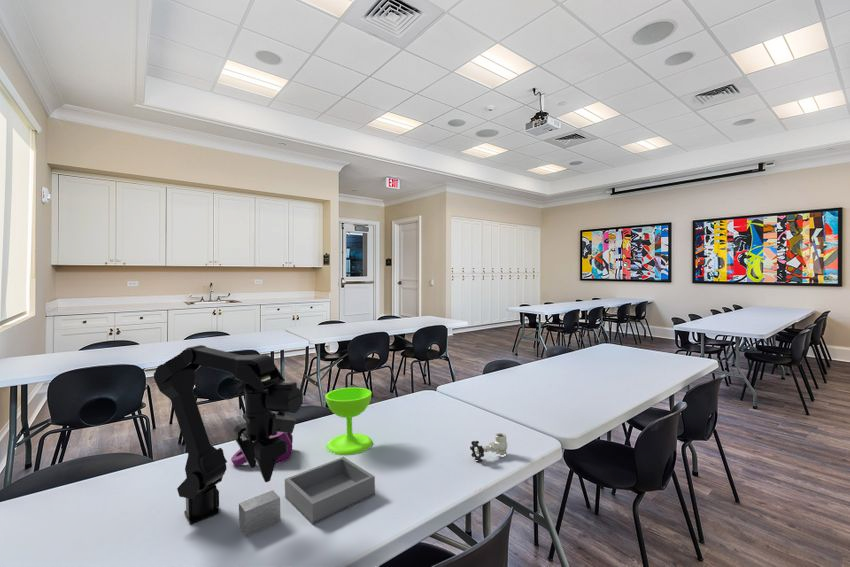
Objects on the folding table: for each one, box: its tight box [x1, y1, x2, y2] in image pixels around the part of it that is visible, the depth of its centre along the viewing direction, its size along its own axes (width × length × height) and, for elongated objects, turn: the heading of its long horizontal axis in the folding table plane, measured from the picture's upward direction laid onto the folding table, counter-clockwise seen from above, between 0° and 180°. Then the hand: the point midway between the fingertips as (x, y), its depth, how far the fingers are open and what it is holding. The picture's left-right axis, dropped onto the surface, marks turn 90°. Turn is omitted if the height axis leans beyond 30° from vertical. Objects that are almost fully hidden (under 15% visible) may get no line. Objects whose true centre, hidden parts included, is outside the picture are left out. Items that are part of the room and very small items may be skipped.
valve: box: [469, 432, 508, 463], centre depth 123 cm, size 7×7×12 cm
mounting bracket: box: [230, 431, 294, 467], centre depth 125 cm, size 9×8×18 cm
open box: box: [284, 456, 376, 525], centre depth 103 cm, size 18×16×5 cm
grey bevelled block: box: [238, 490, 282, 538], centre depth 91 cm, size 8×4×6 cm, turn 133°
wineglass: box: [324, 387, 373, 456], centre depth 134 cm, size 16×16×18 cm
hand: (260, 474), depth 91 cm, fingers open, 9 cm apart
